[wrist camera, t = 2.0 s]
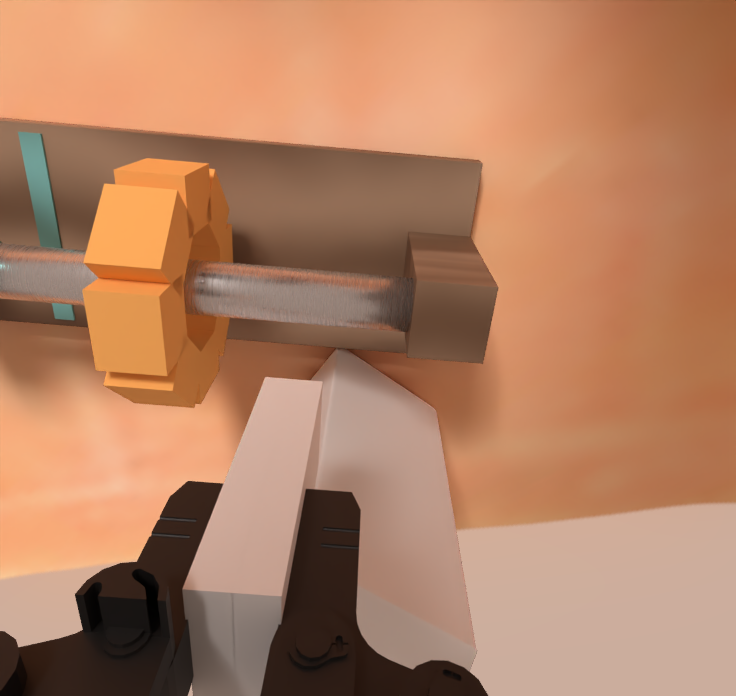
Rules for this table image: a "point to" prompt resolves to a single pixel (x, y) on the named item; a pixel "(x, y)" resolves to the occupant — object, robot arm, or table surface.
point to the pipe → (227, 289)
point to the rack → (275, 223)
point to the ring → (156, 281)
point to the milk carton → (395, 513)
